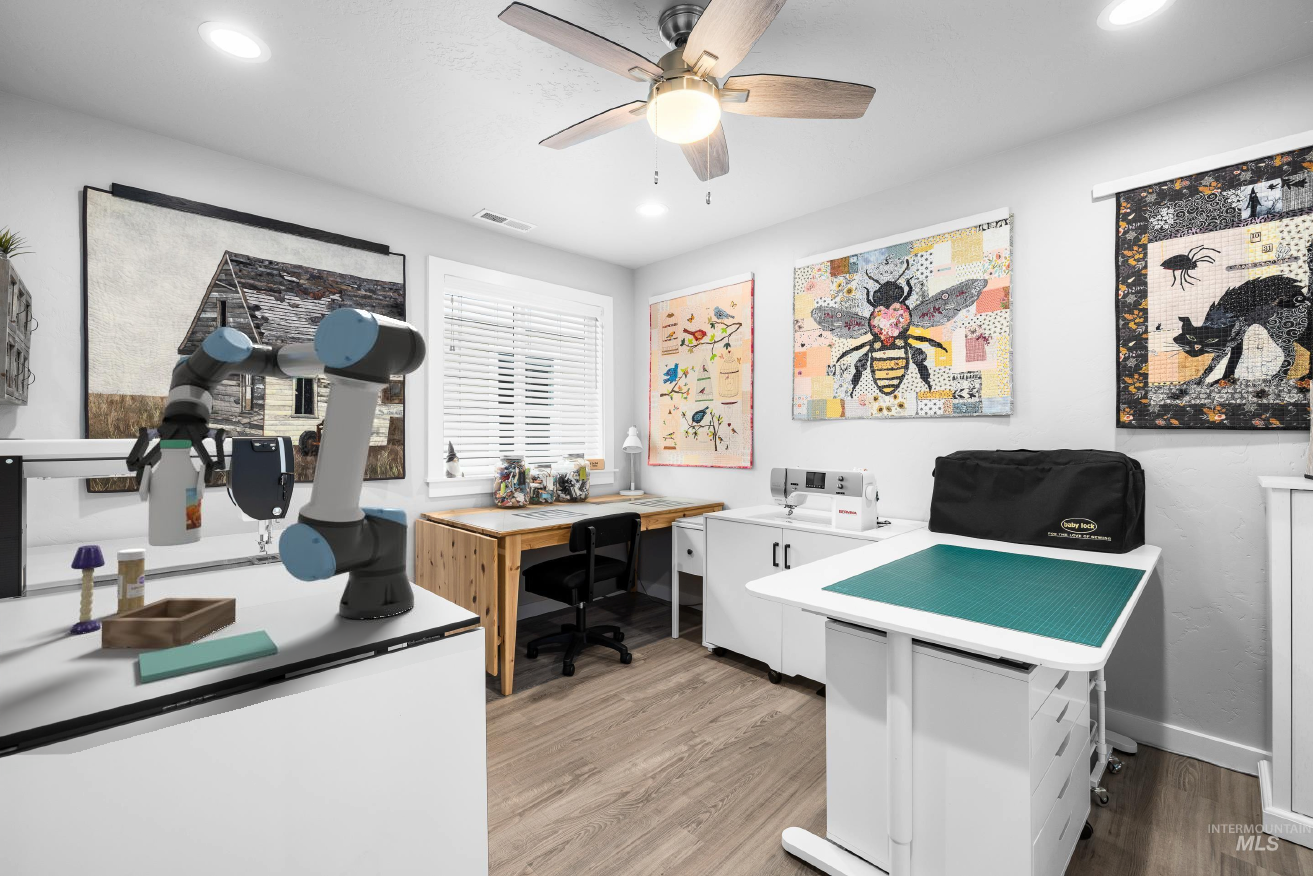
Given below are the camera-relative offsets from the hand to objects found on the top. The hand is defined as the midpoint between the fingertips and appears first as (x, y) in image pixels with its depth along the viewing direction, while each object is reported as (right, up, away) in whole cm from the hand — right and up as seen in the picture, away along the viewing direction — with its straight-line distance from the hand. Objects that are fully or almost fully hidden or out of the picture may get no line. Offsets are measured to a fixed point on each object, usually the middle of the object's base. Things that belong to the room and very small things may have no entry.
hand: (172, 495), depth 105 cm
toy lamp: (-21, -27, +5) cm, 35 cm away
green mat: (+12, -28, -6) cm, 31 cm away
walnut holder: (-3, -28, +4) cm, 28 cm away
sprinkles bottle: (-24, -27, +17) cm, 40 cm away
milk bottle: (-2, -10, +3) cm, 10 cm away
